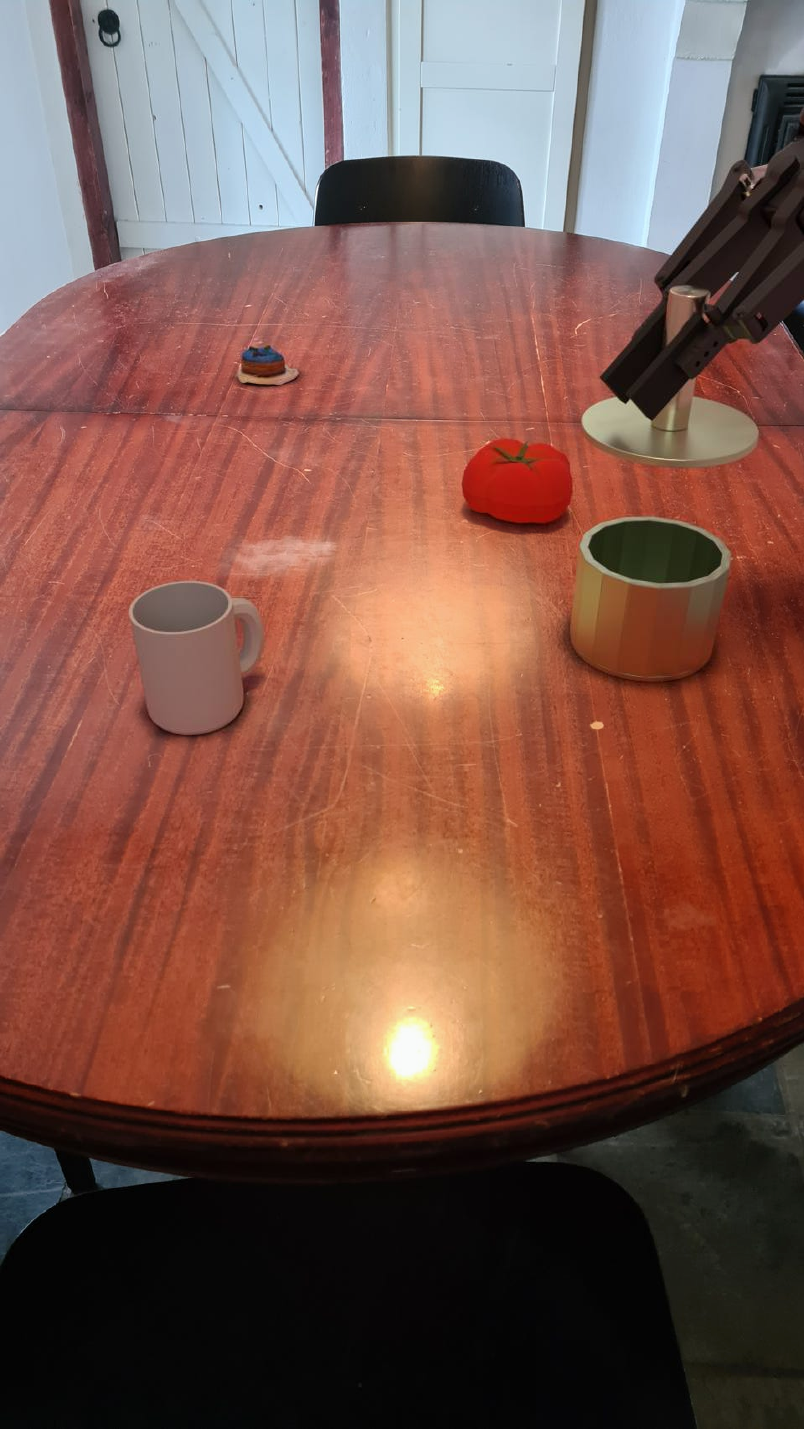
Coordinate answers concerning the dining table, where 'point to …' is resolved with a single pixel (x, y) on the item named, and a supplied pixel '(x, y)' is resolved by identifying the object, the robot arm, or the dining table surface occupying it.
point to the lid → (673, 414)
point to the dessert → (264, 367)
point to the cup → (194, 654)
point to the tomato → (518, 481)
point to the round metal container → (648, 597)
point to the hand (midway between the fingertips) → (625, 398)
